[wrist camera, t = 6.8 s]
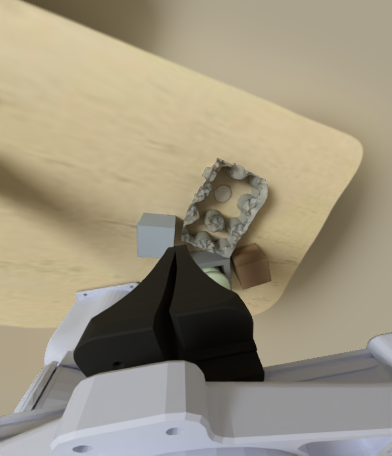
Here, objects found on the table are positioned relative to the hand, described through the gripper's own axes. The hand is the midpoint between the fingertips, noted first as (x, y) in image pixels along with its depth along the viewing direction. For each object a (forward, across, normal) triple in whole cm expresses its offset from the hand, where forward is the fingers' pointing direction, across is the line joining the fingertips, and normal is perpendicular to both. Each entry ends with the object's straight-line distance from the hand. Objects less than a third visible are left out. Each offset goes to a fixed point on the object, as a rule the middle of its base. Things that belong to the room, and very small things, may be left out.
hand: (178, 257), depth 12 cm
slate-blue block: (+10, +3, +2) cm, 11 cm away
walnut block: (+10, -8, +9) cm, 16 cm away
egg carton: (+11, -5, 0) cm, 12 cm away
